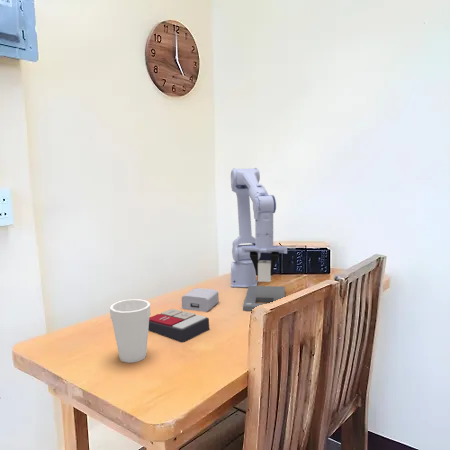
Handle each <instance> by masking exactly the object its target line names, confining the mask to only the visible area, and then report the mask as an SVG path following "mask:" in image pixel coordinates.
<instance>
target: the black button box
mask: <svg viewBox="0 0 450 450" xmlns="http://www.w3.org/2000/svg"><path fill="white" fill-rule="evenodd" d="M209 330H210V319H209V317H207V316H204V315H199V314H196V313H193V312H188V311H183V310H181V309H175V308H170V309H167V310H165V311H163V312H160V313H157V314H155V315H153V316H149V328H148V332H151V333H154V334H157V335H160V336H163V337H167V338H170V339H172V340H174V341H177V342H180V343H185V342H187V341H190V340H191V339H193V338H196V337H197V336H199V335H202V334H204V333H205V332H207V331H209Z"/></svg>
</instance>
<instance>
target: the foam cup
mask: <svg viewBox="0 0 450 450" xmlns="http://www.w3.org/2000/svg"><path fill="white" fill-rule="evenodd" d="M109 308H110V309H109V313H110V319H111V322H112V328H113V332H114V338H115V341H116V343H115V344H116V347H117V350H118V351H117V352H118V357H119V360H120V361H121V362H123V363H127V364H128V363H131V364H133V363H137V362H140V361H142V360H144V359H145V358H146V357H147V350H148V337H149V331H148V328H149V317H151V303H150V301H147V300H145V299H139V298H132V299H131V298H129V299H123V300H119V301H117V302H114V303H113V304H111V305H110V307H109Z"/></svg>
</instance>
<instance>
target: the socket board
mask: <svg viewBox="0 0 450 450" xmlns="http://www.w3.org/2000/svg"><path fill="white" fill-rule="evenodd" d="M285 290H286V286H280V285H279V286H277V285H276V286H274V285H257V286H249V287H247V290H246V291H247V292H246V295H245V298H244V300H243V303H242V311H243V312H252V311H251V310H252V309H254V308H255V307H257V306H259V305H262V304H265V303H273V301H276V300H278V299H281V298H283V297H286V295H285V294H286V291H285Z"/></svg>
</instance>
